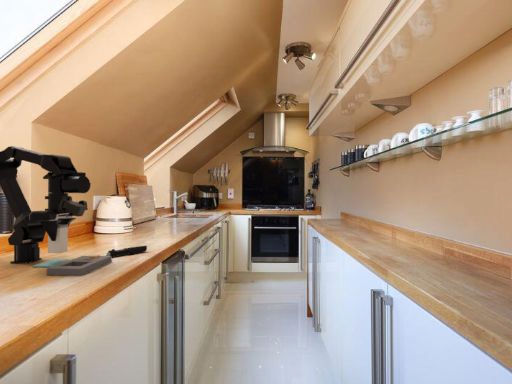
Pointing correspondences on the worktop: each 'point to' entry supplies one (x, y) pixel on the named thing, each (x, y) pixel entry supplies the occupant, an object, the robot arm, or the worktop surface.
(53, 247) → the beige grey rectangular block
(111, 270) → the worktop surface
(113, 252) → the electric trimmer
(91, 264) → the grey panel
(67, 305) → the worktop surface
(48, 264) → the teal mat
